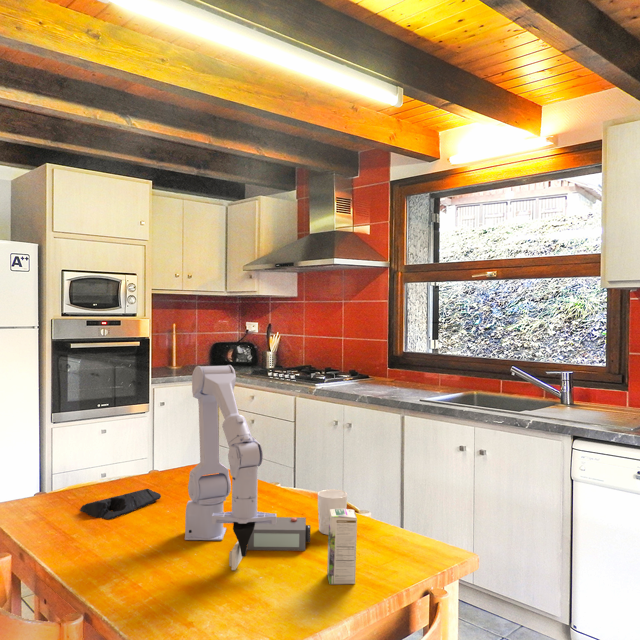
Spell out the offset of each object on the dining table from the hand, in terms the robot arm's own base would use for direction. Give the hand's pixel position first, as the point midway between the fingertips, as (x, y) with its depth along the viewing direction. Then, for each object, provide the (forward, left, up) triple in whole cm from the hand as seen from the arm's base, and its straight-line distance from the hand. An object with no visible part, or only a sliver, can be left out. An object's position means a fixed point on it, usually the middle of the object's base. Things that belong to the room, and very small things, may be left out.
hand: (243, 554), depth 136 cm
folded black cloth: (-40, +41, -3) cm, 58 cm away
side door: (-1, +3, -2) cm, 4 cm away
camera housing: (+7, +13, -2) cm, 15 cm away
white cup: (+21, +22, -3) cm, 31 cm away
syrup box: (+22, -7, -3) cm, 23 cm away
